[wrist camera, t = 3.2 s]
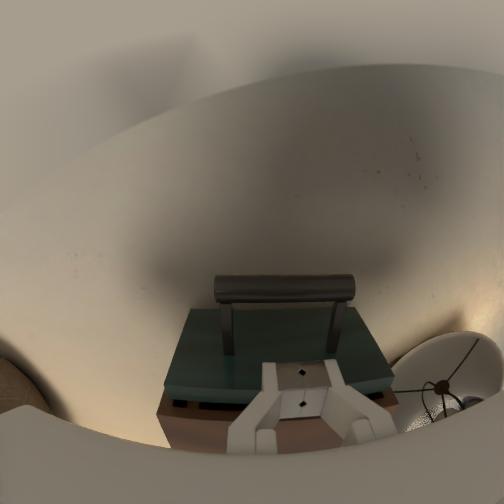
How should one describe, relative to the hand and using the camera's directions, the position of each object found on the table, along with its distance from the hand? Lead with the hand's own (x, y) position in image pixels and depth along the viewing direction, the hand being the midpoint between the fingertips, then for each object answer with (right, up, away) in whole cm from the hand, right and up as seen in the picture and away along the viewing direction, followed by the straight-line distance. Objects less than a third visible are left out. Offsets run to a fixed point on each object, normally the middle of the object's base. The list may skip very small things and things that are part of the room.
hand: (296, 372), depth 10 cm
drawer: (0, -4, +11) cm, 11 cm away
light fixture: (+24, -16, +16) cm, 33 cm away
